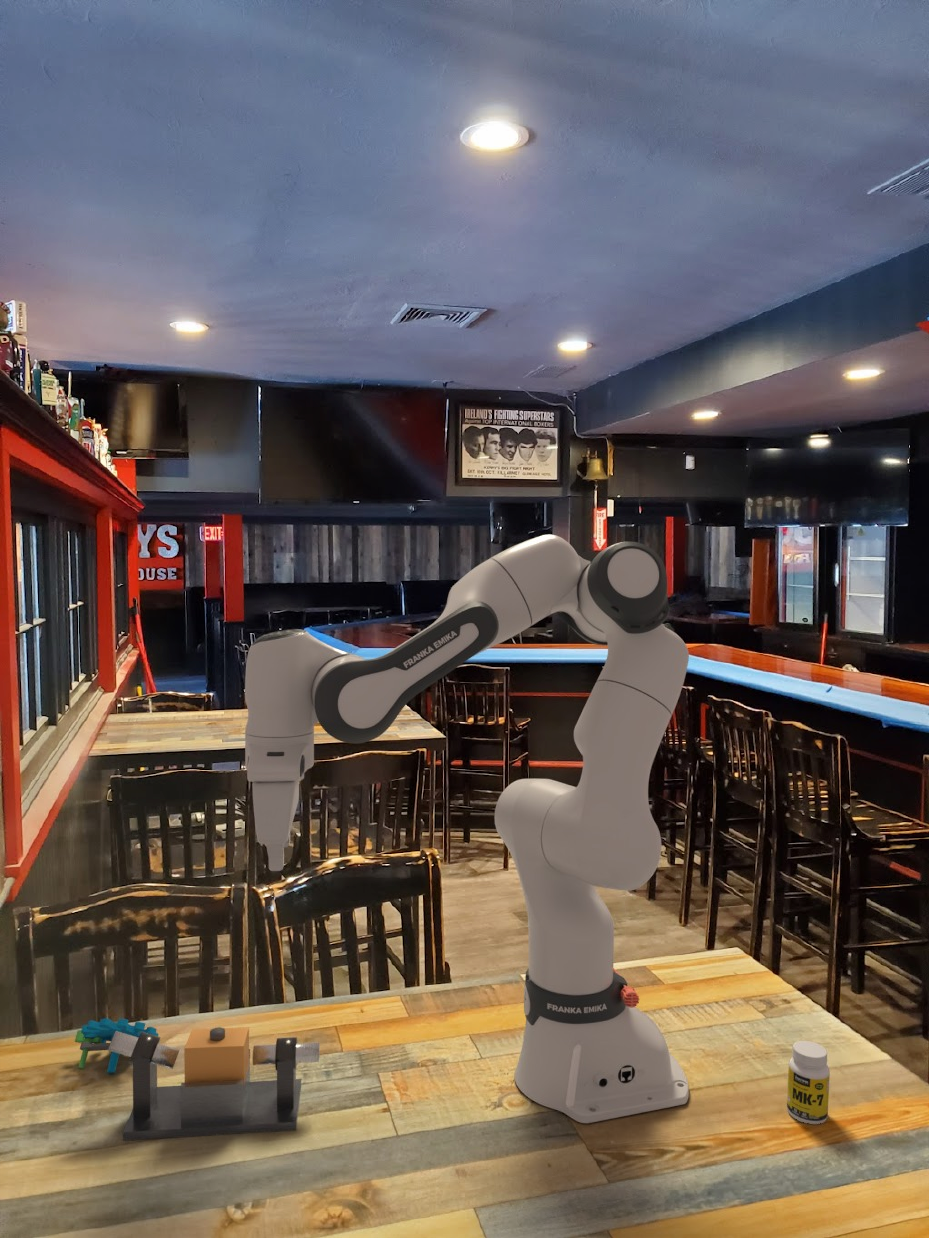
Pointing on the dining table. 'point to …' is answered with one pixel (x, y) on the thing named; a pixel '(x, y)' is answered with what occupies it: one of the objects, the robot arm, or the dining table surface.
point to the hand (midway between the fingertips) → (279, 857)
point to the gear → (106, 1037)
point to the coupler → (217, 1054)
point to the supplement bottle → (808, 1083)
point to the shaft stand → (211, 1092)
